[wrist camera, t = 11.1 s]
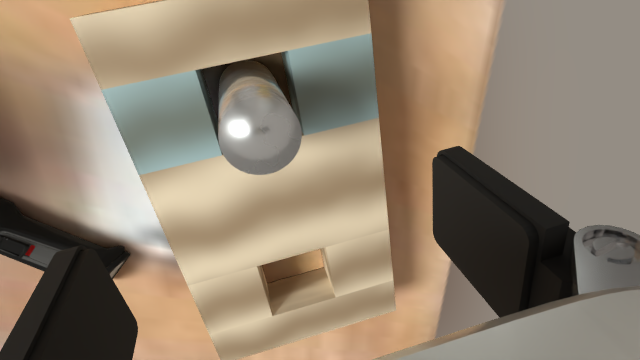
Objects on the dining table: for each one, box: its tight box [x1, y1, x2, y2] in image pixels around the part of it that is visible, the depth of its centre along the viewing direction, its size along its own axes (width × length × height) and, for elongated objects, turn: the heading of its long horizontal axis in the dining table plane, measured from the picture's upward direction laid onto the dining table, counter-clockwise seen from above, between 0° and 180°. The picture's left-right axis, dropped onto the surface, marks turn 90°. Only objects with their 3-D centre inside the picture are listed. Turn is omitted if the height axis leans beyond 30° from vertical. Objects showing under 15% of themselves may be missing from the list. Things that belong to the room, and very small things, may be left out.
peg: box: [218, 60, 302, 175], centre depth 23 cm, size 4×4×10 cm
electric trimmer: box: [0, 198, 131, 279], centre depth 27 cm, size 4×16×3 cm, turn 50°
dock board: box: [70, 0, 396, 360], centre depth 29 cm, size 28×16×4 cm, turn 9°
